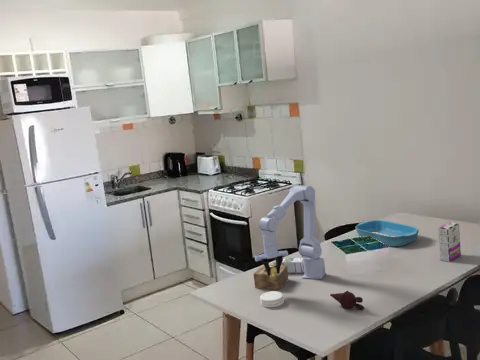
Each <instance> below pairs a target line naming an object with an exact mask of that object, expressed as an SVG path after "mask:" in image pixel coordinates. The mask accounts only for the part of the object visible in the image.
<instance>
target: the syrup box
mask: <svg viewBox="0 0 480 360" xmlns="http://www.w3.org/2000/svg"><path fill="white" fill-rule="evenodd" d="M282 258H283V261H282V264H281V265H283V266H287V271H288V274H293V273H294V274H296V273H298V274H299V273H305V272H304V262H303V258H302V257H293V258H292V257H289V258H287V257H286V258H284V257H282ZM273 265H276V261H275V260H273Z"/></svg>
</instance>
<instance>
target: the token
mask: <svg viewBox="0 0 480 360" xmlns="http://www.w3.org/2000/svg"><path fill="white" fill-rule="evenodd" d="M269 271H270V275H269V278H271V279H275V278H278V271H277V265H274V264H269Z"/></svg>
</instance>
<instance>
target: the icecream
mask: <svg viewBox="0 0 480 360" xmlns="http://www.w3.org/2000/svg"><path fill="white" fill-rule="evenodd" d="M329 296H330V297H331V298H333V299H334V300H335V301H337V302H338V303H339V304H340V307H341V308H342V309H351V308H356V309H358V310H361V311H363V310H364V309H365V307H364V305H362V304H361V303H363V302H364V299H363V297H361V296H356V295H355V294H354V293H353V292H350V291H349V290H346V291H344V292H341V293H340V292H339V293H330V295H329Z"/></svg>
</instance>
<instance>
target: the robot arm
mask: <svg viewBox="0 0 480 360" xmlns="http://www.w3.org/2000/svg"><path fill="white" fill-rule="evenodd" d="M288 192H289V193H288V194H287V195H286V197H285V198H284V199H283V200H282V202H281V203H280V204H278V205H274V206H273V207H272V209H271V210H270V211H269V213H268V214H266V216H263V217H261V218H260V220H259V223H258V225H257V226H258V228H259V229H260V232H261V235H262V243H263V251H264V252H263V253H262V254H258V255H254V260H255V262H260V261H261V262H262V265H264V266H265V269H266V271H267V275H268V276H269V275H270V271H269V265H270V261H269V260H270V259H274V261H276V265H277V271H278V274H280V267H281V264H282V261H283V258H284V257H289V252H288V250H278V245H277V244H278V243H277V233H276V230H277V229H278V225H279V223H280V221H281V220H282V219H283V218H284V217H285V216H286V213H287V212H286V211H287V210H288V209H289V208H290V207H291V206H292V205H293V204H294V203H295V202H296V201H299V202H300V203H301V204H303V238H301V239H300V240H299V246H298V253H299V255H300V256H301V258H303V262H304V272H303V273H304V274H303V275H302V276H301V278H302V279H313V280H314V279H315V280H322V279H323V277H324V276H325V275H326V268H325V267H326V264H325V260H324V258H322V257H321V256H322V254H323V253H322V246H321V241H320V240H318V238H317V237H316V189H315V188H314V187H313V186H312V185H301V184H300V185H299V184H293V185H292V186H291V187H290V189H288Z"/></svg>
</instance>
